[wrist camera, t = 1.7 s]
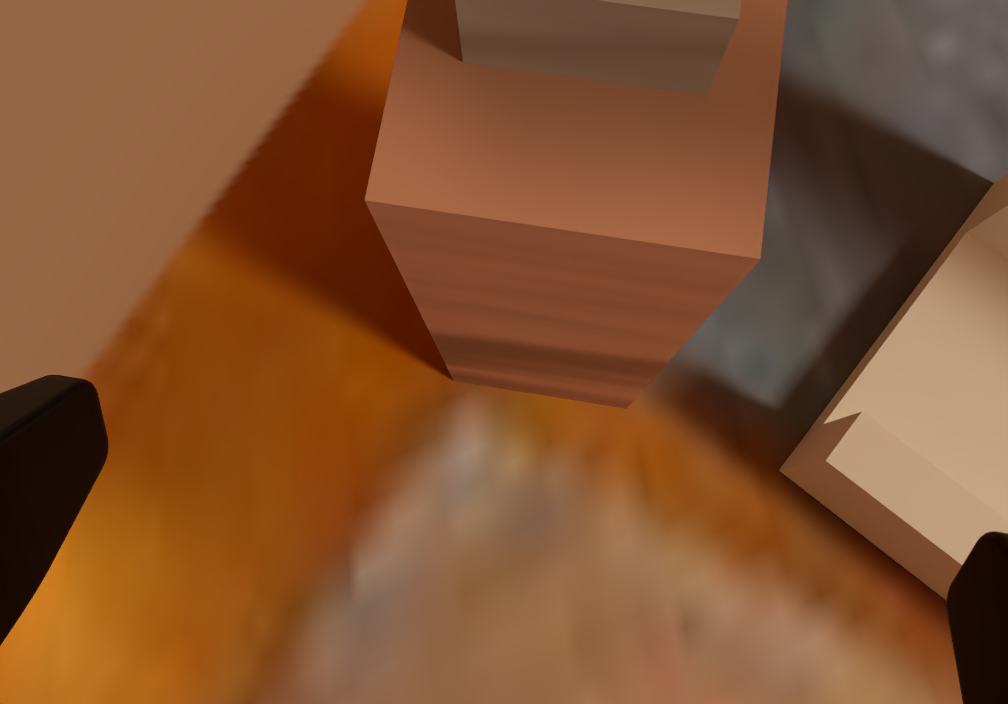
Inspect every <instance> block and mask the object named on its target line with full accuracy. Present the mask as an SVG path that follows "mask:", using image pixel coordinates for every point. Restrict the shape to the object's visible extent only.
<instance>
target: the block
mask: <svg viewBox="0 0 1008 704" xmlns="http://www.w3.org/2000/svg"><path fill="white" fill-rule="evenodd" d="M786 9H787V0H408V2H407V6H406V11H405V16H404V20H403V25H402V29H401V34H400V39H399V43H398V48H397V53H396V57H395V62H394V66H393V71H392V76H391V80H390V85H389V89H388V94H387V99H386V103H385V108H384V112H383V117H382V122H381V126H380V131H379V136H378V140H377V145H376V149H375V154H374V159H373V163H372V168H371V172H370V177H369V182H368V186H367V191H366V195H365V202H366V204H367V206H368V208H369V210H370V212H371V214H372V217H373V219H374V221H375V223H376V225H377V227H378V229H379V231H380V233H381V235H382V237H383V239H384V241H385V243H386V245H387V247H388V249H389V251H390V253H391V255H392V257H393V259H394V261H395V263H396V265H397V267H398V269H399V271H400V273H401V275H402V277H403V279H404V281H405V283H406V285H407V288H408V290H409V292H410V294H411V296H412V298H413V300H414V302H415V304H416V306H417V308H418V310H419V312H420V314H421V316H422V318H423V320H424V322H425V324H426V326H427V328H428V330H429V332H430V334H431V336H432V338H433V340H434V342H435V344H436V346H437V348H438V350H439V352H440V354H441V357H442V359H443V361H444V363H445V365H446V367H447V369H448V371H449V373H450V375H451V377H452V379H453V381H459V382H466V383H472V384H478V385H484V386H490V387H497V388H503V389H509V390H515V391H521V392H528V393H534V394H540V395H546V396H553V397H559V398H565V399H571V400H577V401H584V402H590V403H596V404H602V405H608V406H615V407H621V408H627V407H628V406H629V405H630V404H631V403H632V402H633V401H634V400H635V399H636V397H637V396H638V395H639V394H640V393H641V392H642V391H643V390H644V388H645V387H646V386H647V385H648V384H649V383H650V382H651V381H652V380H653V378H654V377H655V376H656V375H657V374H658V373H659V372H660V371H661V369H662V368H663V367H664V366H665V365H666V364H667V363H668V362H669V361H670V359H671V358H672V357H673V356H674V355H675V354H676V353H677V352H678V350H679V349H680V348H681V347H682V346H683V345H684V344H685V343H686V342H687V340H688V339H689V338H690V337H691V336H692V335H693V334H694V333H695V331H696V330H697V329H698V328H699V327H700V326H701V325H702V324H703V322H704V321H705V320H706V319H707V318H708V317H709V316H710V315H711V314H712V312H713V311H714V310H715V309H716V308H717V307H718V306H719V305H720V303H721V302H722V301H723V300H724V299H725V298H726V297H727V296H728V295H729V293H730V292H731V291H732V290H733V289H734V288H735V287H736V286H737V284H738V283H739V282H740V281H741V280H742V279H743V278H744V277H745V276H746V274H747V273H748V272H749V271H750V270H751V269H752V268H753V267H754V265H755V264H756V263H757V262H758V261H759V260H760V257H761V247H762V238H763V228H764V219H765V209H766V200H767V190H768V181H769V171H770V162H771V152H772V143H773V133H774V124H775V114H776V104H777V95H778V85H779V76H780V66H781V57H782V47H783V38H784V28H785V19H786Z"/></svg>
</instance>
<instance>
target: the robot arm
mask: <svg viewBox="0 0 1008 704" xmlns="http://www.w3.org/2000/svg"><path fill="white" fill-rule="evenodd" d="M107 454H108V437H107V433H106V428H105V424H104V419H103V415H102V411H101V406H100V402H99V397H98V393H97V390H96V388H95V387H94V385H93V384H92V383H91V382H89V381H87V380H84V379H79V378H73V377H67V376H61V375H48V376H44V377H42V378H39V379H37V380H34V381H31V382H29V383H26V384H24V385H21V386H19V387H16V388H13V389H11V390H8V391H6V392H3V393H0V645H1V644H2V642H3V641H4V639H5V638H6V636H7V635H8V634H9V632H10V631H11V629H12V628H13V626H14V625H15V623H16V622H17V620H18V619H19V617H20V616H21V614H22V613H23V611H24V610H25V608H26V606H27V605H28V603H29V602H30V600H31V599H32V597H33V595H34V594H35V592H36V591H37V589H38V587H39V586H40V584H41V582H42V580H43V579H44V577H45V575H46V573H47V572H48V570H49V568H50V566H51V564H52V562H53V561H54V559H55V557H56V555H57V553H58V551H59V549H60V547H61V545H62V544H63V542H64V540H65V538H66V536H67V534H68V532H69V530H70V528H71V527H72V525H73V523H74V521H75V519H76V517H77V515H78V513H79V511H80V510H81V508H82V506H83V504H84V502H85V500H86V498H87V496H88V494H89V493H90V491H91V489H92V487H93V485H94V483H95V481H96V479H97V477H98V476H99V474H100V472H101V470H102V468H103V466H104V464H105V461H106V458H107ZM947 615H948V621H949V626H950V632H951V638H952V643H953V649H954V655H955V660H956V666H957V672H958V677H959V683H960V689H961V694H962V700H963V704H1008V533H1004V532H998V531H992V532H987V533H985V534H984V535H982V536H981V537H980V538H979V539H978V541H977V542H976V544H975V545H974V547H973V549H972V550H971V552H970V553H969V555H968V557H967V558H966V560H965V562H964V563H963V565H962V567H961V568H960V570H959V571H958V573H957V575H956V576H955V578H954V580H953V581H952V583H951V585H950V587H949V590H948V594H947Z"/></svg>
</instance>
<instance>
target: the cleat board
mask: <svg viewBox="0 0 1008 704" xmlns="http://www.w3.org/2000/svg"><path fill="white" fill-rule="evenodd" d="M779 471H780V472H781V473H783V474H784V475H785V476H787V477H788V478H789V479H790V480H792V481H793V482H794V483H796V484H797V485H798V486H799V487H801V488H802V489H803V490H805V491H806V492H807V493H808V494H810V495H811V496H812V497H814V498H815V499H816V500H817V501H819V502H820V503H821V504H823V505H824V506H825V507H826V508H828V509H829V510H830V511H832V512H833V513H834V514H835V515H837V516H838V517H839V518H841V519H842V520H843V521H844V522H846V523H847V524H848V525H850V526H851V527H852V528H853V529H855V530H856V531H857V532H859V533H860V534H861V535H862V536H864V537H865V538H866V539H868V540H869V541H870V542H871V543H873V544H874V545H875V546H877V547H878V548H879V549H880V550H882V551H883V552H884V553H886V554H887V555H888V556H889V557H891V558H892V559H893V560H895V561H896V562H897V563H899V564H900V565H901V566H902V567H904V568H905V569H906V570H908V571H909V572H910V573H911V574H913V575H914V576H915V577H917V578H918V579H919V580H920V581H922V582H923V583H924V584H926V585H927V586H928V587H929V588H931V589H932V590H933V591H935V592H936V593H937V594H938V595H940V596H941V597H942V598H944V599H945V600H946V601H947V594H948V590H949V587H950V585H951V583H952V581H953V580H954V578H955V576H956V575H957V573H958V571H959V570H960V568H961V567H962V565H963V563H964V562H965V560H966V558H967V557H968V555H969V553H970V552H971V550H972V549H973V547H974V545H975V544H976V542H977V541H978V539H979V538H980V537H981V536H982V535H984V534H985V533H987V532H992V531H998V532H1004V533H1008V173H1007V174H1005V175H1004V176H1003V177H1001V178H1000V179H998V180H997V181H996V182H994V184H993V185H992V186H991V188H990V189H989V190H988V192H987V193H986V194H985V196H984V197H983V198H982V200H981V201H980V202H979V204H978V205H977V206H976V208H975V209H974V210H973V212H972V213H971V214H970V216H969V217H968V218H967V220H966V221H965V222H964V224H963V225H962V226H961V228H960V229H959V230H958V232H957V233H956V234H955V236H954V237H953V238H952V240H951V241H950V242H949V244H948V245H947V246H946V248H945V249H944V250H943V252H942V253H941V254H940V256H939V257H938V258H937V260H936V261H935V262H934V264H933V265H932V266H931V268H930V269H929V270H928V272H927V273H926V274H925V276H924V277H923V278H922V280H921V281H920V282H919V284H918V285H917V286H916V288H915V289H914V290H913V292H912V293H911V294H910V296H909V297H908V298H907V300H906V301H905V302H904V304H903V305H902V306H901V308H900V309H899V310H898V312H897V313H896V314H895V316H894V317H893V318H892V320H891V321H890V322H889V324H888V325H887V326H886V328H885V329H884V330H883V332H882V333H881V334H880V336H879V337H878V338H877V340H876V341H875V342H874V344H873V345H872V346H871V348H870V349H869V350H868V352H867V353H866V354H865V356H864V357H863V358H862V360H861V361H860V362H859V364H858V365H857V366H856V368H855V369H854V370H853V372H852V373H851V374H850V376H849V377H848V378H847V380H846V381H845V382H844V384H843V385H842V386H841V388H840V389H839V390H838V392H837V393H836V394H835V396H834V397H833V398H832V400H831V401H830V402H829V404H828V405H827V406H826V408H825V409H824V410H823V412H822V413H821V414H820V416H819V417H818V418H817V420H816V421H815V422H814V424H813V425H812V426H811V428H810V429H809V430H808V432H807V433H806V434H805V436H804V437H803V438H802V440H801V441H800V442H799V444H798V445H797V447H796V448H795V449H794V451H793V452H792V453H791V455H790V456H789V457H788V459H787V460H786V461H785V463H784V464H783V465H782V467H781V468H780V469H779Z"/></svg>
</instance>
